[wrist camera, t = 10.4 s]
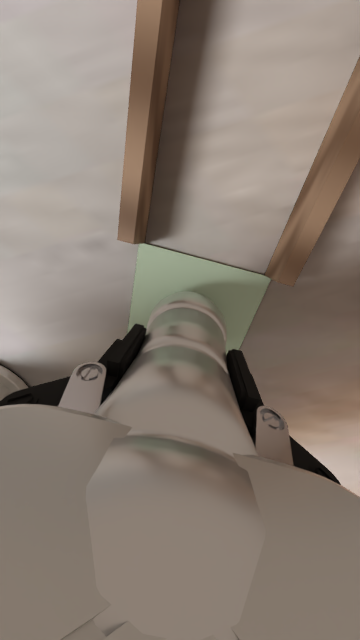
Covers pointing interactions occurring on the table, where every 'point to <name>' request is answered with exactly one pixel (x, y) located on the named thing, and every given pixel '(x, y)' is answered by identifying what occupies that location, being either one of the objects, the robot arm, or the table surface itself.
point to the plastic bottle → (175, 485)
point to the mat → (196, 288)
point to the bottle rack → (144, 134)
